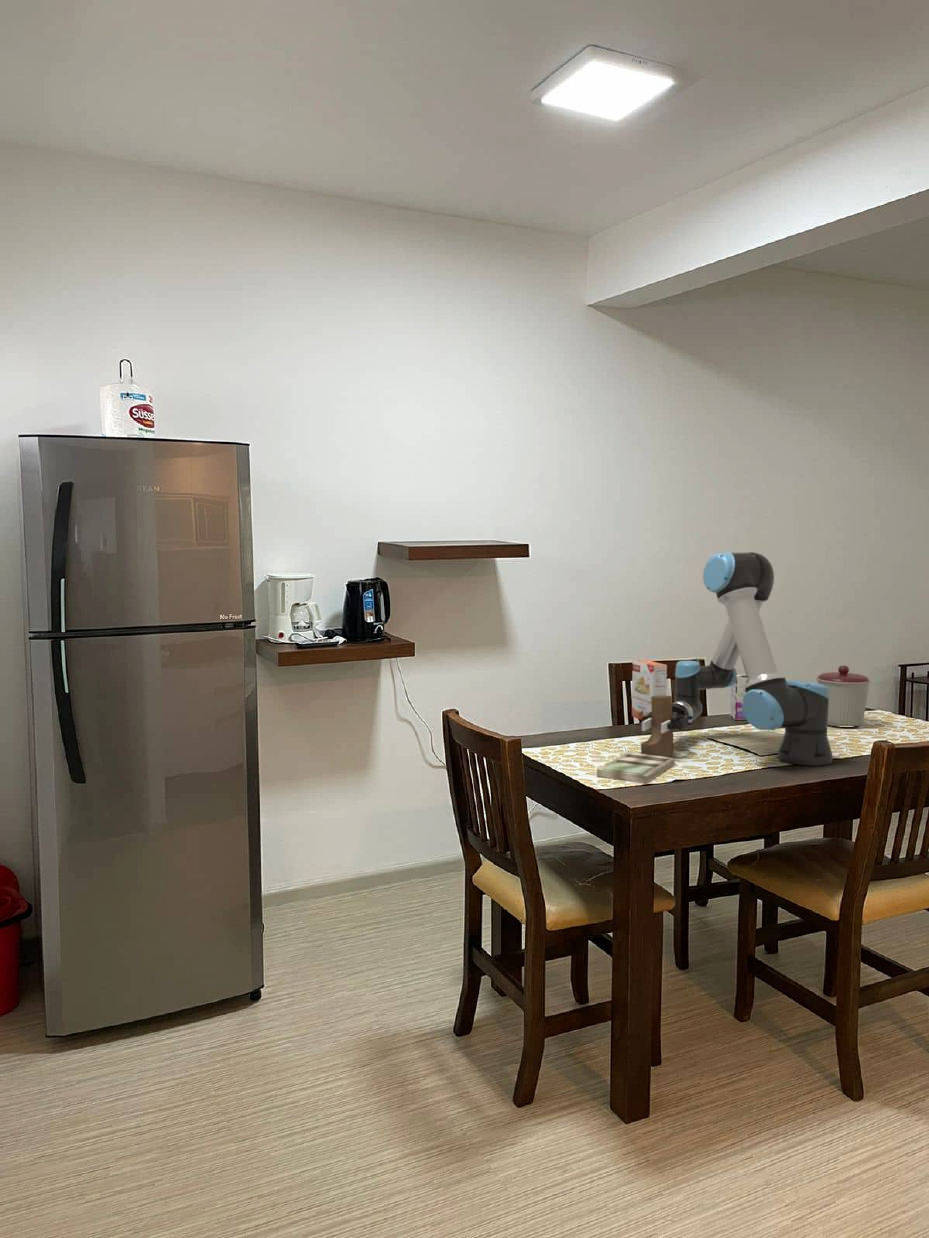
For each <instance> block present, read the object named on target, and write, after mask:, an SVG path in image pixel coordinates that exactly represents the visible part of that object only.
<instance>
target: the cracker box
mask: <svg viewBox="0 0 929 1238" xmlns="http://www.w3.org/2000/svg"><path fill="white" fill-rule="evenodd" d="M667 677H668V664H664V663H660V662H656V661H652V660H647V659H637V660H636V659H635V660H632V684H631V686H632V687H631V689H632V690H631V717H633V718H635V719H638V720H641V717H643V716H645V715H647V714H649V712H652V707H651V697H652V696H658V695H666V696H668V695H667V693H668V692H667V689H668V688H667V687H668V685H667V684H668V683H667V681H668V678H667Z"/></svg>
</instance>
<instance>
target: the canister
mask: <svg viewBox="0 0 929 1238" xmlns="http://www.w3.org/2000/svg"><path fill="white" fill-rule="evenodd" d="M837 670H838V672H837V671H836V672H835V671H834V672H833V671H832V672H825V673H824V672H823V673H820V674H819V675H818V676H815V680H816V681H817V684H822V685H825V686H826V687H827V688H828V697H829V703H828V724H827V726H828V725H831V726H830V727H832V726H858V727H860V726H861V725H862V724H863V722H864V717H865V713H866V706H867V700H868V694H869V689H870V684H871V683H872V679H869V677H867V676H866V675H863V674H859V673H854V672H853V673H852V672H849V671H850V668H849V667H848V666H847V665H840V666H838V668H837Z"/></svg>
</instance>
